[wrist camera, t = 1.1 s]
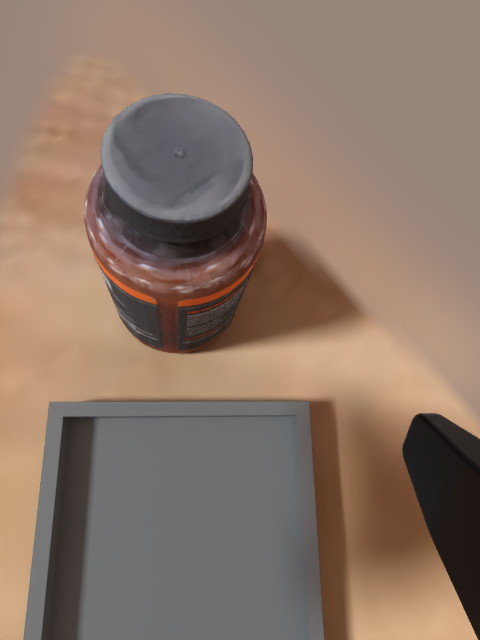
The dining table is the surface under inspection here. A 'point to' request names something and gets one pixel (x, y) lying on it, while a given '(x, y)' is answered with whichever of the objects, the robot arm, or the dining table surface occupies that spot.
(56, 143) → the dining table surface
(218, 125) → the supplement bottle
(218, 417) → the tray
